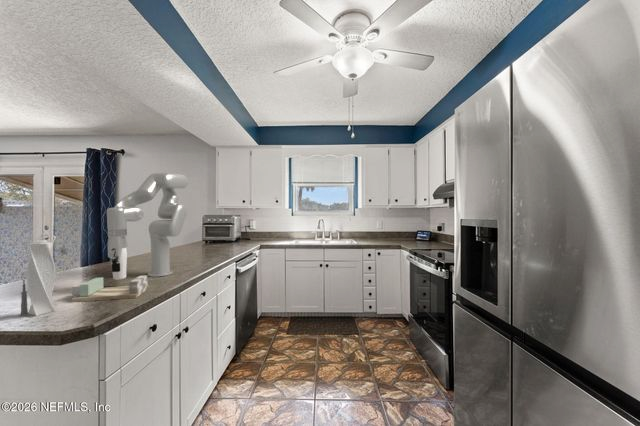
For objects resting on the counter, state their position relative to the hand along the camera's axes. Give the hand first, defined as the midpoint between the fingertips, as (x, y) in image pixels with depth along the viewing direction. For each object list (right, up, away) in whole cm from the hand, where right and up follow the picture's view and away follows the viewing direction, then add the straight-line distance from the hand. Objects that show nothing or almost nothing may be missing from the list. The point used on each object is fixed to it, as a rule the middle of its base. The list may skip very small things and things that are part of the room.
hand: (119, 269), depth 140 cm
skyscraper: (-4, -9, -35) cm, 37 cm away
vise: (+7, -9, -13) cm, 17 cm away
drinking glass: (0, -5, 0) cm, 5 cm away
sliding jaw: (-3, -7, -15) cm, 17 cm away
